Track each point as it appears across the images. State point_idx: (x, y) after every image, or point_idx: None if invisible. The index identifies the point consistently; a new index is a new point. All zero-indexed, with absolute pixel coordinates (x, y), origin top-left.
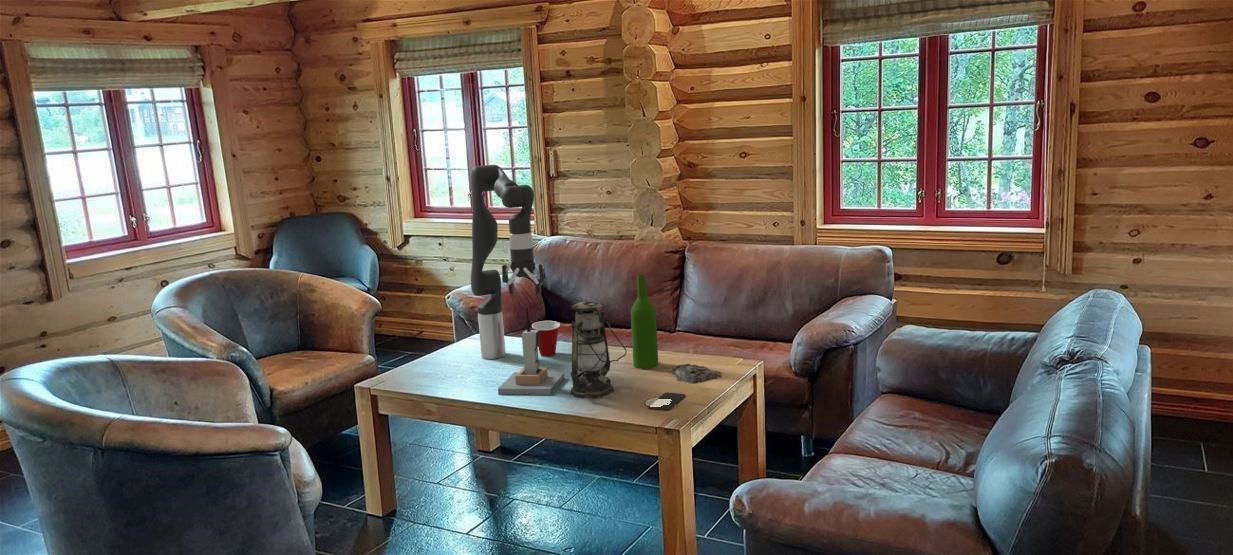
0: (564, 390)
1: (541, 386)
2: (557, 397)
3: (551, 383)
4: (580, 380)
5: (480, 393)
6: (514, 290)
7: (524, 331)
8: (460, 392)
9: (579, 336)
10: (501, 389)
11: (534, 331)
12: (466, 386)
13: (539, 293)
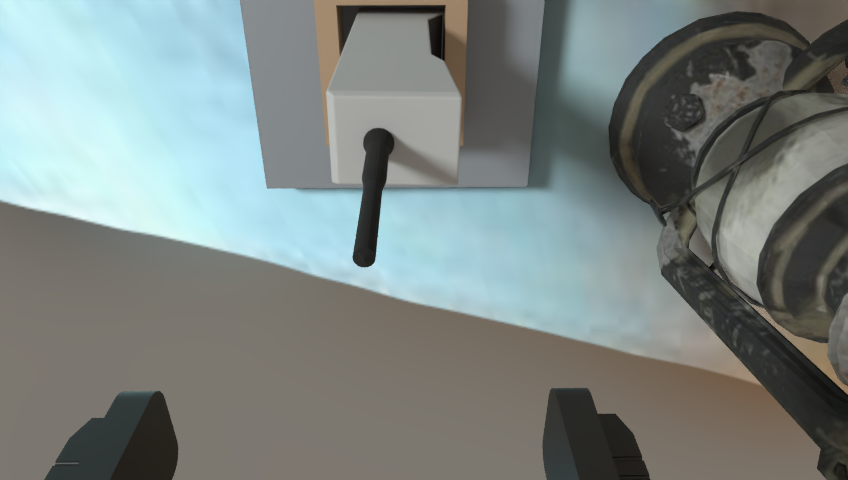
0: (576, 112)
1: (474, 154)
2: (558, 204)
3: (515, 107)
4: (693, 230)
5: (178, 165)
6: (134, 442)
7: (339, 141)
8: (70, 154)
9: (824, 302)
10: (285, 186)
11: (431, 141)
12: (37, 62)
13: (586, 388)
